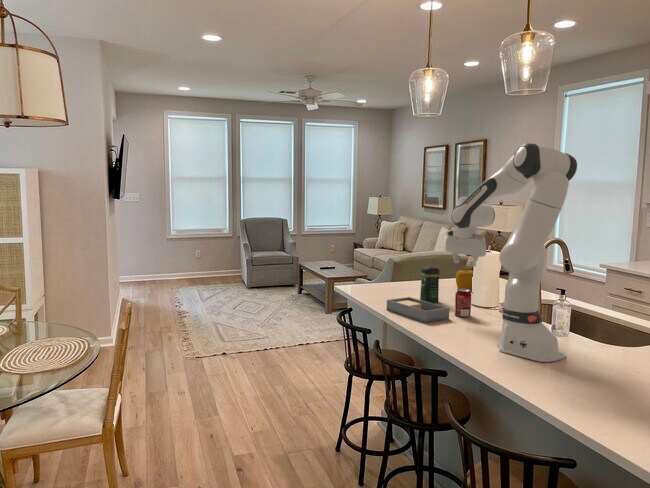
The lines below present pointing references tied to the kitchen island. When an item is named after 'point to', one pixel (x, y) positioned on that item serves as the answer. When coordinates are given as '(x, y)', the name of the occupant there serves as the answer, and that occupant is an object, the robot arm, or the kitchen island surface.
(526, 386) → the kitchen island surface
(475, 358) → the kitchen island surface
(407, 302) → the tan square block
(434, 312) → the tray
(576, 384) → the kitchen island surface
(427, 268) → the coffee jar
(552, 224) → the robot arm
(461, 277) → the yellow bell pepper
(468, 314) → the soda can
